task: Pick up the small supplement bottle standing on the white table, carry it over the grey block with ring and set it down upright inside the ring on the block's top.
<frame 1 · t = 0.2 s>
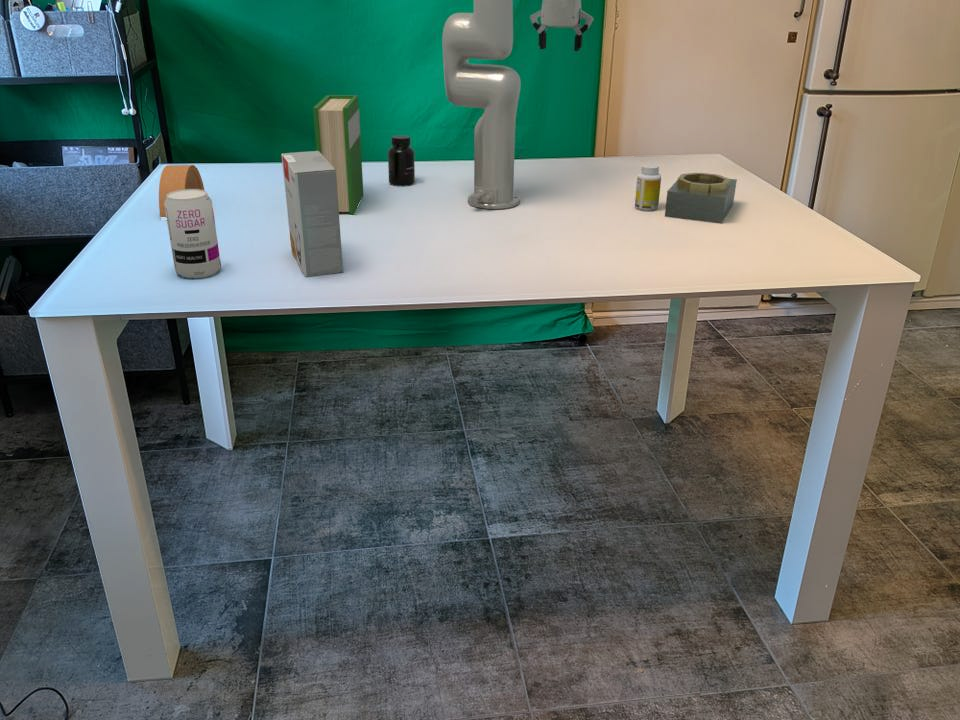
hand: (559, 49, 222), 31 cm above the table, tool pointing down, fingers open, 9 cm apart
supplement bottle 2: (646, 209, 196), on the table
arch: (184, 209, 193), on the table
hard drive box: (316, 263, 160), on the table
supplement can: (199, 273, 155), on the table
grey block with ring: (699, 210, 195), on the table
supplement bottle: (402, 184, 215), on the table
hardback book: (343, 205, 197), on the table
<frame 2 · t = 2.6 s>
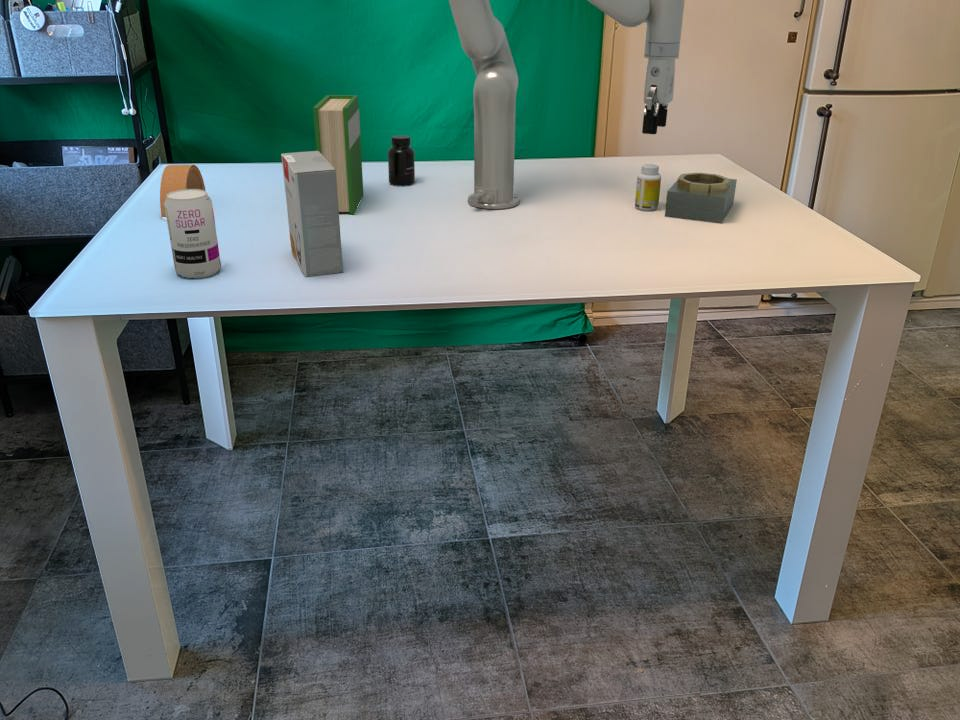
hand: (654, 129, 188), 18 cm above the table, tool pointing down, fingers open, 9 cm apart
nothing on the table moved.
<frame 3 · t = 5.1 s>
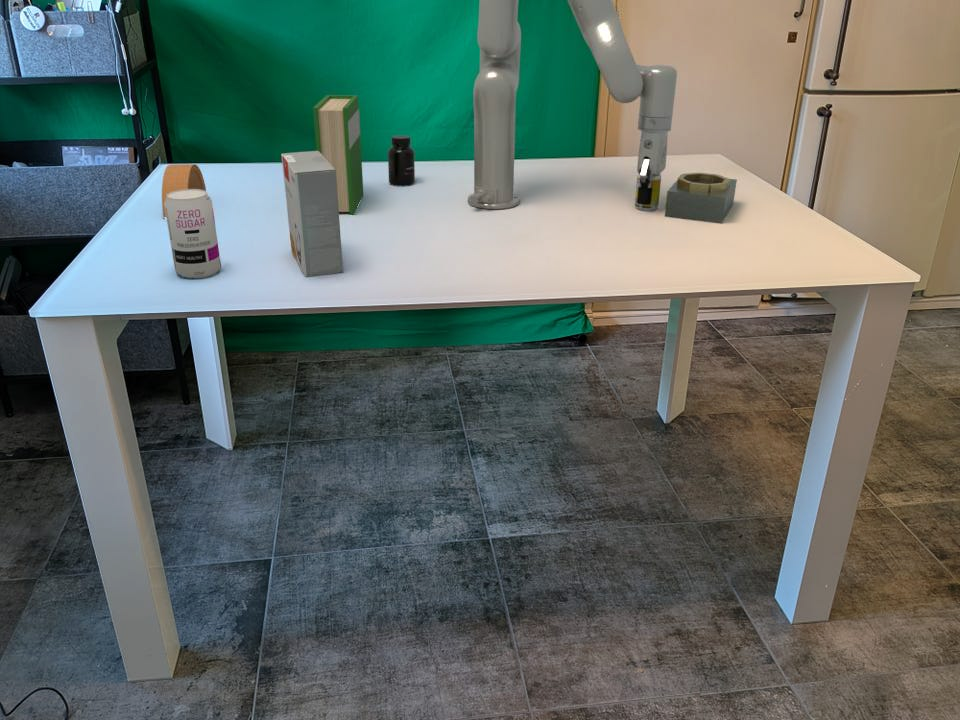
hand: (647, 200, 195), 2 cm above the table, tool pointing down, fingers closed on supplement bottle 2, 5 cm apart
supplement bottle 2: (646, 209, 196), on the table, touching gripper
everything else where it was.
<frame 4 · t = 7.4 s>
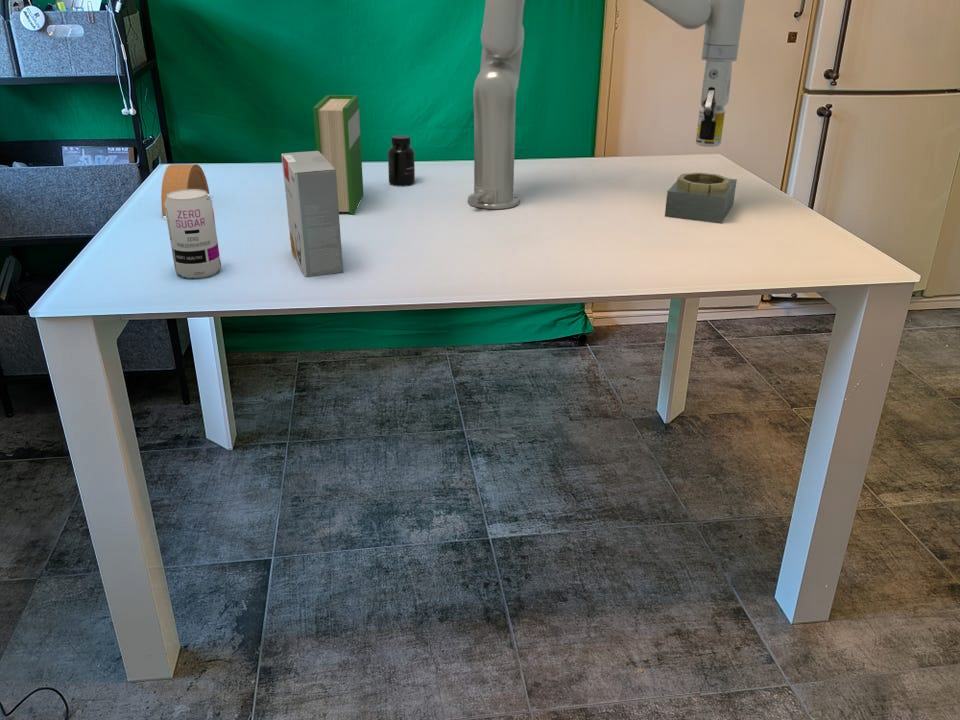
hand: (708, 135, 187), 17 cm above the table, tool pointing down, fingers closed on supplement bottle 2, 5 cm apart
supplement bottle 2: (707, 145, 188), point 15 cm above the table, touching gripper
everything else where it was.
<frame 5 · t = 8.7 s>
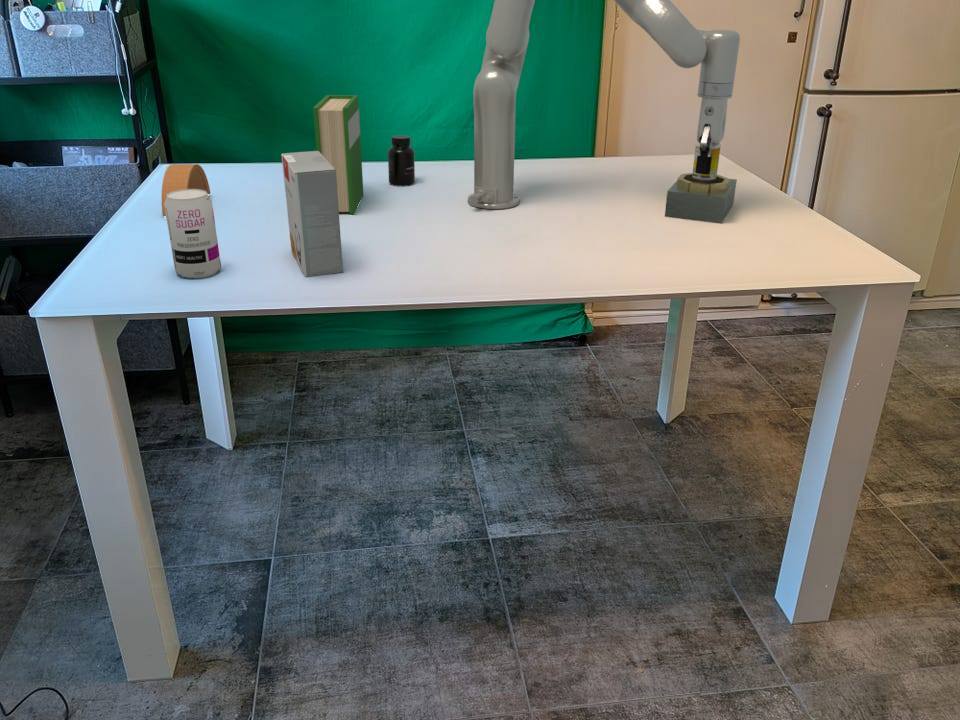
hand: (704, 169, 191), 10 cm above the table, tool pointing down, fingers closed on supplement bottle 2, 5 cm apart
supplement bottle 2: (703, 179, 192), point 7 cm above the table, touching gripper
when the fingers open (9 cm above the table, at t = 9.7 s): supplement bottle 2 stays where it is, resting on grey block with ring.
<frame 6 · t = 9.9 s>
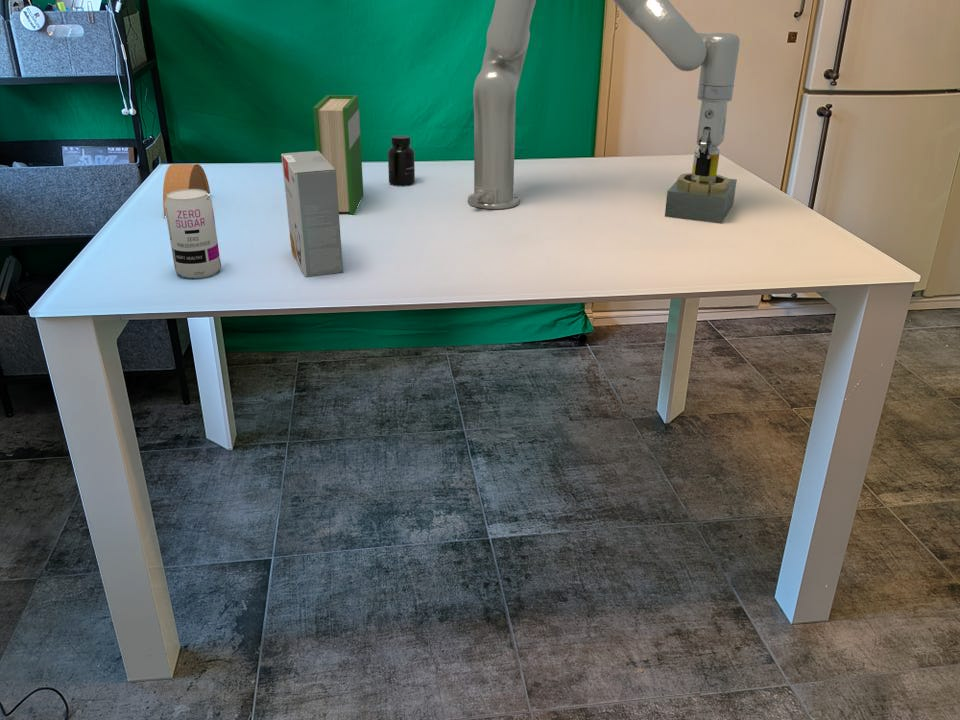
hand: (704, 171, 191), 9 cm above the table, tool pointing down, fingers open, 7 cm apart
supplement bottle 2: (702, 184, 192), point 6 cm above the table, touching grey block with ring
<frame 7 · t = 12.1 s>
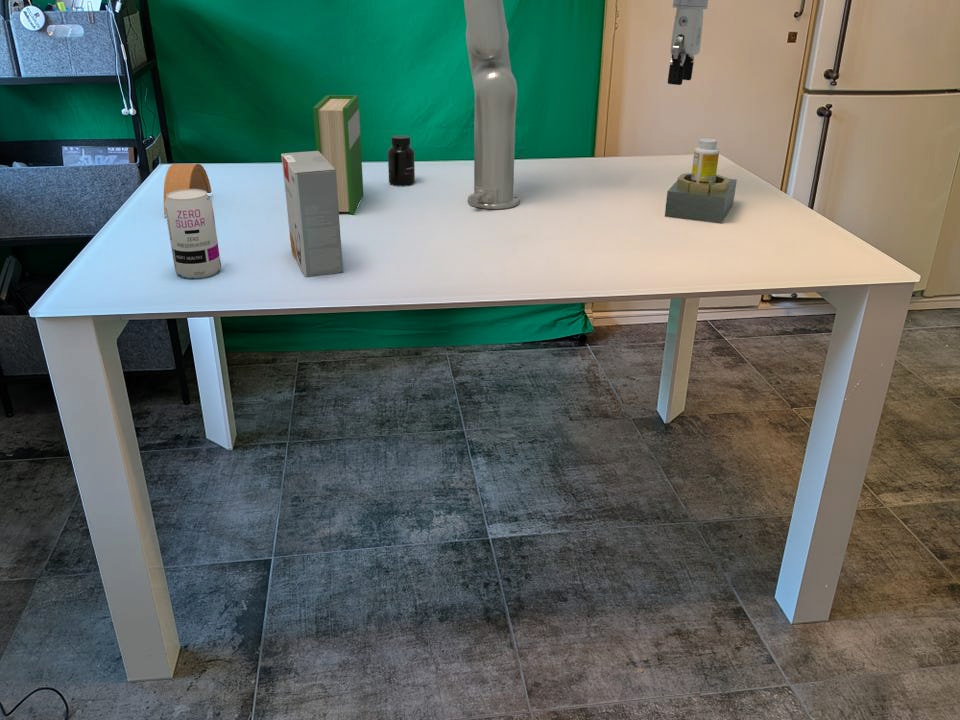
hand: (679, 81, 189), 28 cm above the table, tool pointing down, fingers open, 9 cm apart
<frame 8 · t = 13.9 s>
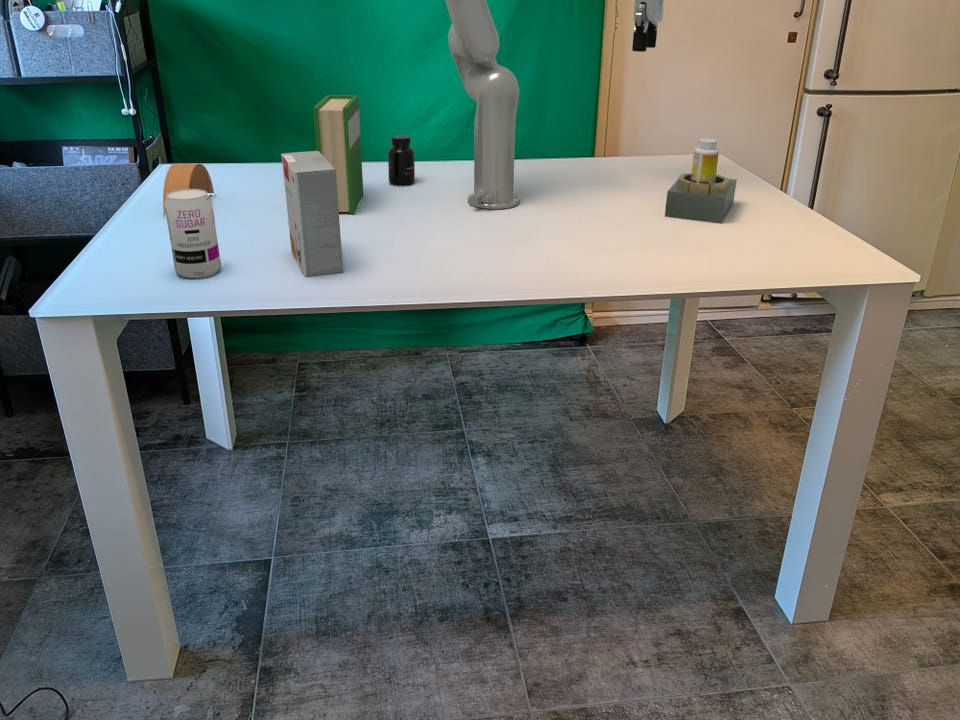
hand: (643, 49, 194), 34 cm above the table, tool pointing down, fingers open, 9 cm apart
at the end: supplement bottle 2 0.2 cm off-centre on the grey block with ring, point 6.0 cm above the grey block with ring's base; supplement bottle 2 tilted 1°; the gripper is holding nothing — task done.
